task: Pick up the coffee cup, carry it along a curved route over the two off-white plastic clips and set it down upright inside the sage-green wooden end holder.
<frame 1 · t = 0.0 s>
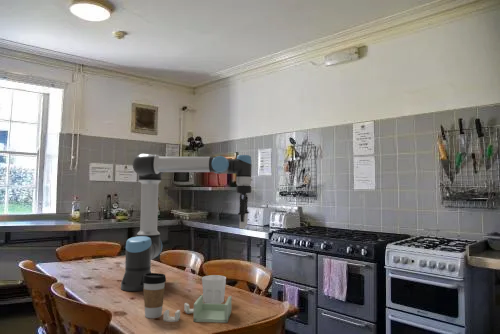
hand: (243, 227, 193), 28 cm above the table, fingers open, 13 cm apart
clip a: (171, 319, 136), on the table
clip b: (191, 311, 145), on the table
holder: (213, 316, 140), on the table
coffee cup: (153, 316, 140), on the table
cup: (213, 302, 159), on the table
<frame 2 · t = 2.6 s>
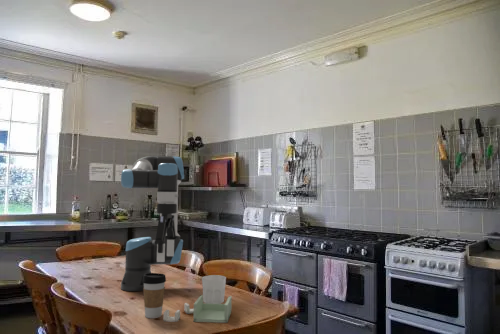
hand: (165, 259, 146), 20 cm above the table, fingers open, 13 cm apart
nothing on the table moved.
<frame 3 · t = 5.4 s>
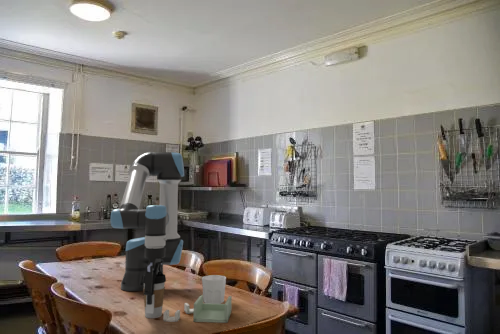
hand: (153, 309, 141), 2 cm above the table, fingers closed on coffee cup, 7 cm apart
coffee cup: (153, 316, 140), on the table, touching gripper
everything else where it was.
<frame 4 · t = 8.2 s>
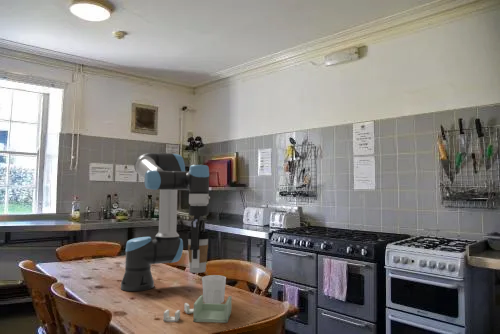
hand: (197, 265, 145), 18 cm above the table, fingers closed on coffee cup, 7 cm apart
coffee cup: (197, 271, 145), point 15 cm above the table, touching gripper
everything else where it was.
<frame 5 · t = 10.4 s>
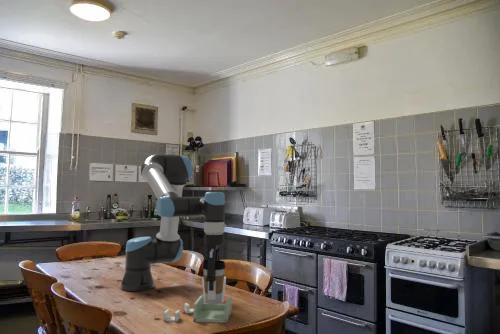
hand: (213, 296, 140), 7 cm above the table, fingers closed on coffee cup, 7 cm apart
coffee cup: (213, 302, 140), point 5 cm above the table, touching gripper
everything else where it was.
when the fingers open (5 cm above the table, at t = 11.3 s): coffee cup drops 2 cm, resting on holder.
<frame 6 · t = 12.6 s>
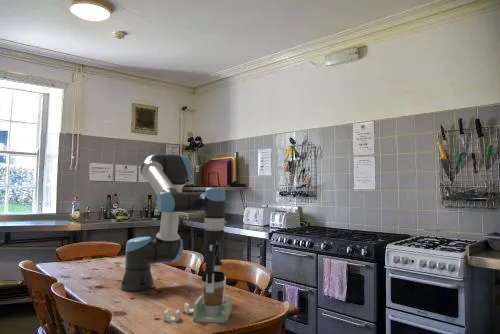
hand: (213, 287, 141), 10 cm above the table, fingers open, 13 cm apart
coffee cup: (213, 314, 140), point 1 cm above the table, touching holder
everything else where it was.
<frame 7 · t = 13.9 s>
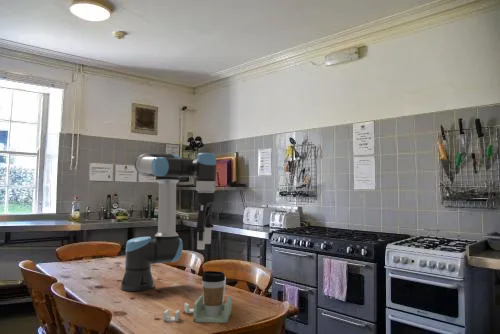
hand: (204, 246, 150), 24 cm above the table, fingers open, 13 cm apart
nothing on the table moved.
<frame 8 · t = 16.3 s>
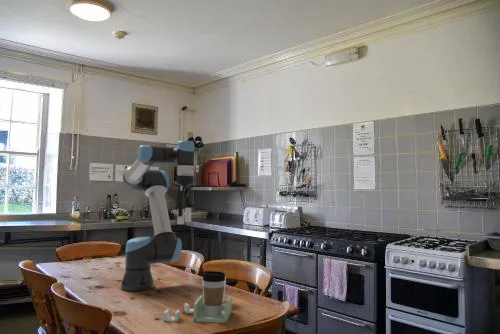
hand: (184, 223, 170), 32 cm above the table, fingers open, 13 cm apart
nothing on the table moved.
at the end: coffee cup inside the target area on the holder (0.0 cm from its centre), point 0.8 cm above the holder's base; coffee cup touching holder; coffee cup tilted 0° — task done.
